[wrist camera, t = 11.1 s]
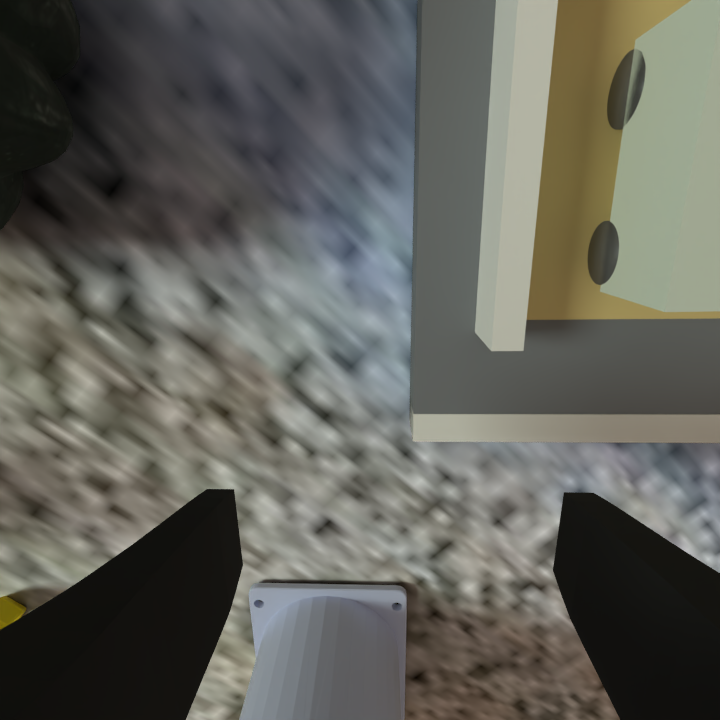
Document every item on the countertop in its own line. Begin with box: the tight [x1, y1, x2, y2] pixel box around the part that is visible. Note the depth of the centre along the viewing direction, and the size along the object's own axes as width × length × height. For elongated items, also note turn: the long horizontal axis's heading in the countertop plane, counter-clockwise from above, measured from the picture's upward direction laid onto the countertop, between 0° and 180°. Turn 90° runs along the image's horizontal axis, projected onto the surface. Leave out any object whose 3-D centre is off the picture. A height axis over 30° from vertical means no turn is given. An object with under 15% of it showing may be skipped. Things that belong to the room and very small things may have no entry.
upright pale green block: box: [588, 0, 720, 312], centre depth 12 cm, size 7×4×5 cm, turn 1°
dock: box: [410, 0, 720, 443], centre depth 14 cm, size 18×16×4 cm
